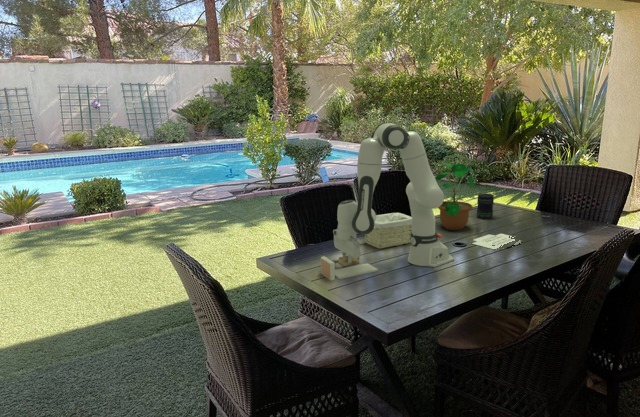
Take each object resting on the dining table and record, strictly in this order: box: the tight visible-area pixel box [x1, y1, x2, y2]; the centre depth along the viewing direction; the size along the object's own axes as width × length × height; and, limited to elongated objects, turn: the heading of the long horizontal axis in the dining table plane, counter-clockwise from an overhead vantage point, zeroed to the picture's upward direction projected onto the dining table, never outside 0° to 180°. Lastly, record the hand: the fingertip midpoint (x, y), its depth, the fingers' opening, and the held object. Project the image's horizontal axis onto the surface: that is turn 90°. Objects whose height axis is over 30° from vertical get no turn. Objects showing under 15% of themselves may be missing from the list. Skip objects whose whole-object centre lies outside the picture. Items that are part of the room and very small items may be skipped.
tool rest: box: [335, 262, 379, 280], centre depth 217 cm, size 20×9×1 cm, turn 116°
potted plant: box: [434, 163, 476, 231], centre depth 279 cm, size 31×29×40 cm
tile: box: [320, 255, 336, 281], centre depth 212 cm, size 2×10×8 cm, turn 25°
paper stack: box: [471, 233, 522, 250], centre depth 255 cm, size 20×28×4 cm
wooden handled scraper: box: [334, 255, 360, 270], centre depth 225 cm, size 17×5×4 cm, turn 115°
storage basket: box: [364, 212, 412, 249], centre depth 256 cm, size 24×16×15 cm
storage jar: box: [476, 193, 495, 221], centre depth 302 cm, size 10×10×15 cm
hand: (347, 261), depth 226 cm, fingers closed on wooden handled scraper, 2 cm apart
